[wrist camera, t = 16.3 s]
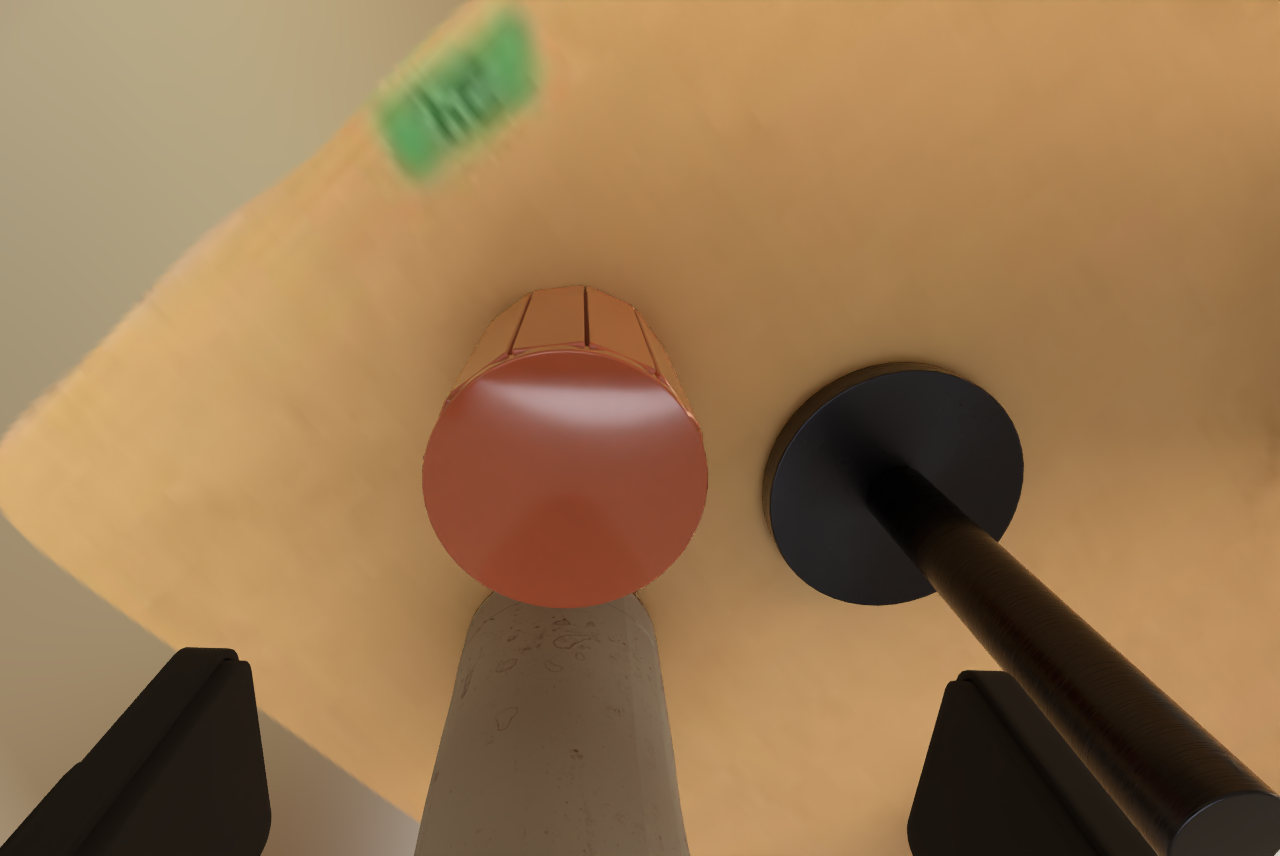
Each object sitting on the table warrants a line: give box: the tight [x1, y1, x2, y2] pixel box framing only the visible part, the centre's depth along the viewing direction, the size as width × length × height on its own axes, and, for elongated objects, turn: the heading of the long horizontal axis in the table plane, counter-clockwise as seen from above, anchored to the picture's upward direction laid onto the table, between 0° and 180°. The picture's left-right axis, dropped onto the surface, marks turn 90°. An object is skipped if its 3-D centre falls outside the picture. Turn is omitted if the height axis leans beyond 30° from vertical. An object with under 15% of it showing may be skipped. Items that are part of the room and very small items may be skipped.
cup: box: [422, 285, 708, 608], centre depth 21 cm, size 7×7×9 cm
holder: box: [763, 362, 1280, 856], centre depth 21 cm, size 10×10×16 cm
